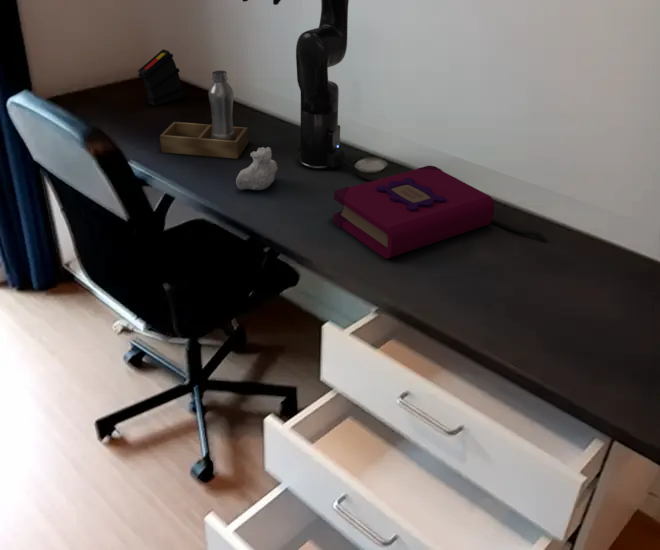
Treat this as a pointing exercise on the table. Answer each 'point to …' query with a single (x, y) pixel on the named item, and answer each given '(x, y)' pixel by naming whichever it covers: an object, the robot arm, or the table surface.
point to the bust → (258, 171)
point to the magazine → (161, 79)
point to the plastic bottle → (221, 107)
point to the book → (411, 210)
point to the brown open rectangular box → (201, 141)
